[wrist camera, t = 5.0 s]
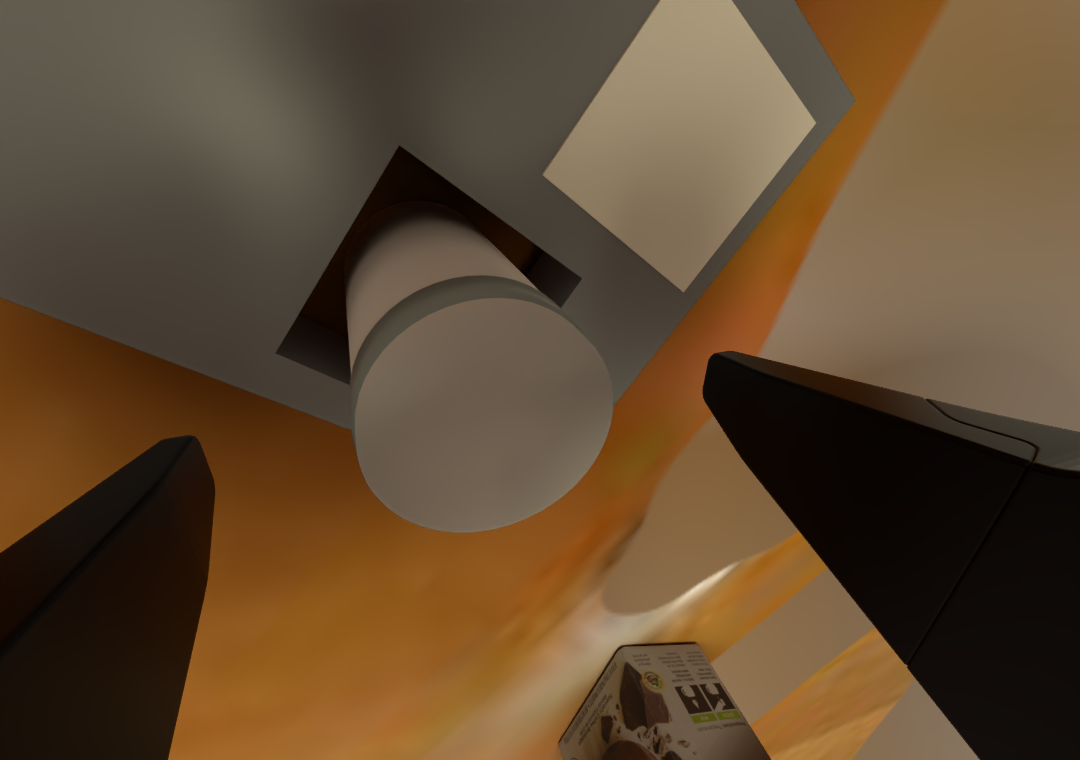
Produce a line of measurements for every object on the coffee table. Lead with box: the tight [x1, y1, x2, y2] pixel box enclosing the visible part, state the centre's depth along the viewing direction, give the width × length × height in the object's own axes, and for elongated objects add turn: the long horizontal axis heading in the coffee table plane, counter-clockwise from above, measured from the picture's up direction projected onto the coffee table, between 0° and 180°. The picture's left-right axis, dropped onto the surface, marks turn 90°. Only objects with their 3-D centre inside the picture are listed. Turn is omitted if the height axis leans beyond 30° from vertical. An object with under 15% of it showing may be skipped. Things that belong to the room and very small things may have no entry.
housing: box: [0, 0, 855, 431], centre depth 13 cm, size 15×16×3 cm
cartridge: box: [344, 201, 613, 533], centre depth 12 cm, size 4×4×8 cm
